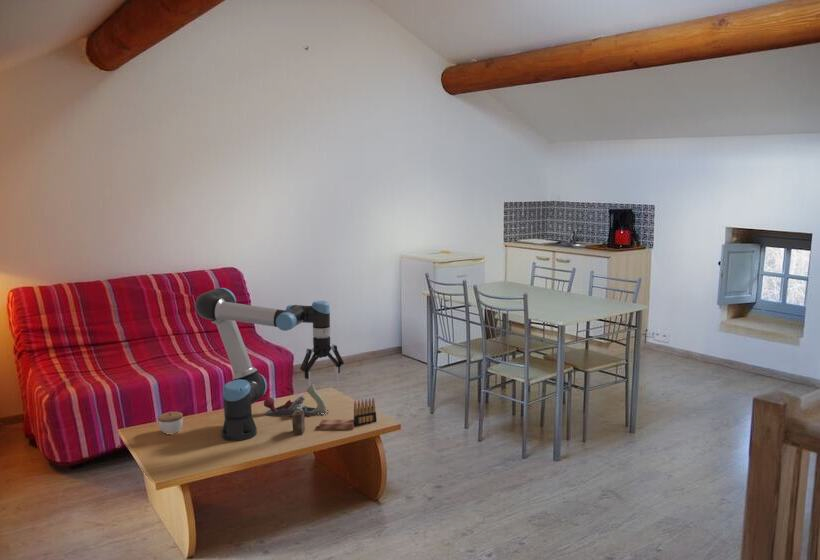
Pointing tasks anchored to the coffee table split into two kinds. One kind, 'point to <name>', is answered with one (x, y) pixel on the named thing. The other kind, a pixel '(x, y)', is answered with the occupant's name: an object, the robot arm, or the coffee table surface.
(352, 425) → the board
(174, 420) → the lidded jar
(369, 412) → the ammunition clip
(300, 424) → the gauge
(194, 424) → the coffee table surface
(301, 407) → the hand plane
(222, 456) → the coffee table surface
